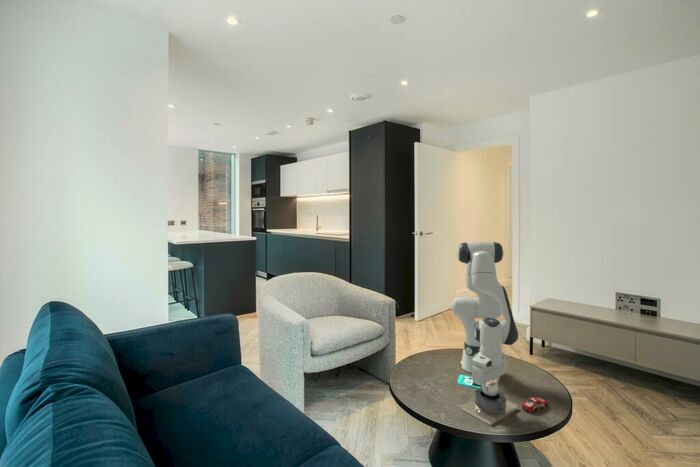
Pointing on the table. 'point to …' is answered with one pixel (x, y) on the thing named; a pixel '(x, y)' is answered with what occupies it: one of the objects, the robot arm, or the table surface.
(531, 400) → the race car
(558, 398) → the table surface
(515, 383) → the table surface
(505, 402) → the grey socket on board
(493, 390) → the halved boiled egg
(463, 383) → the handheld game console
